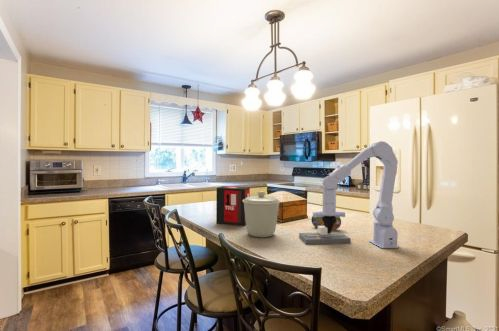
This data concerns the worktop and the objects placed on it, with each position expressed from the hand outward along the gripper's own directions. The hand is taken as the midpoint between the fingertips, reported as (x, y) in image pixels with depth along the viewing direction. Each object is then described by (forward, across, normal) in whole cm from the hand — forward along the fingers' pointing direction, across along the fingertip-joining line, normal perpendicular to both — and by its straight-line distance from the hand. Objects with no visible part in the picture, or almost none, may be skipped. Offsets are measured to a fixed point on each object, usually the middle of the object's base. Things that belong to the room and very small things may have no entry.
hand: (328, 232), depth 121 cm
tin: (+3, -7, -19) cm, 21 cm away
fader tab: (+1, +3, 0) cm, 3 cm away
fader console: (+3, +2, 0) cm, 4 cm away
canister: (+3, +29, -11) cm, 31 cm away
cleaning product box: (+4, +41, -35) cm, 54 cm away
